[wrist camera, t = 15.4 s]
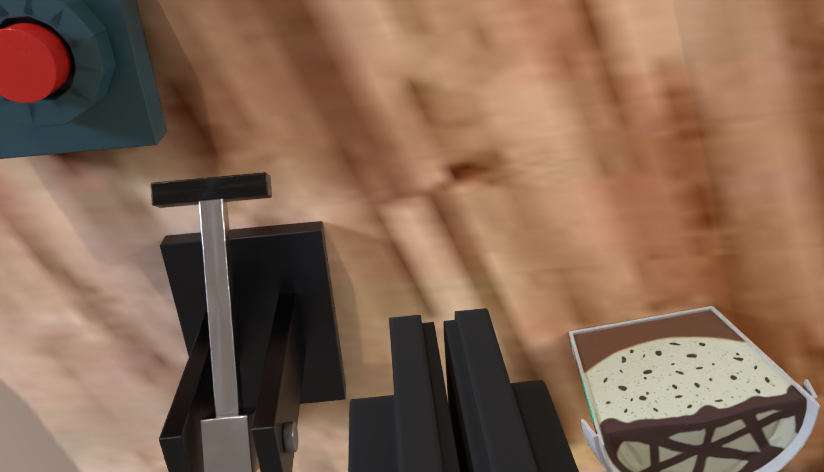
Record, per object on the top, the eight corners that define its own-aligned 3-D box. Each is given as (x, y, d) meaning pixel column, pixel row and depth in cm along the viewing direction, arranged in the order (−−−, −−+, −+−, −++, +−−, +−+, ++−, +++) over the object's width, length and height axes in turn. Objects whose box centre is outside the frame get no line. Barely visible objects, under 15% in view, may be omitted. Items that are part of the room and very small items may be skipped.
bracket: (164, 235, 40) (86, 373, 28) (322, 220, 40) (307, 351, 29) (207, 400, 45) (155, 573, 34) (346, 386, 45) (341, 553, 34)
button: (-14, 25, 31) (-34, 32, 29) (59, 19, 31) (43, 25, 29) (10, 96, 32) (-8, 106, 31) (80, 90, 32) (65, 100, 31)
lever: (162, 187, 35) (144, 180, 32) (273, 177, 35) (263, 169, 32) (183, 472, 34) (167, 486, 31) (296, 460, 34) (289, 474, 32)
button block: (-54, -59, 33) (-105, -53, 29) (119, -73, 33) (89, -68, 29) (16, 145, 37) (-21, 172, 33) (167, 132, 37) (147, 157, 34)
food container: (552, 409, 47) (597, 529, 38) (545, 335, 45) (592, 446, 36) (731, 377, 47) (819, 490, 38) (735, 301, 45) (830, 404, 36)
